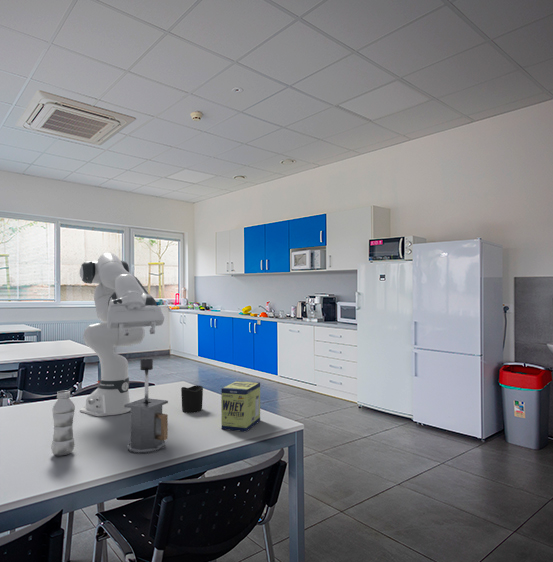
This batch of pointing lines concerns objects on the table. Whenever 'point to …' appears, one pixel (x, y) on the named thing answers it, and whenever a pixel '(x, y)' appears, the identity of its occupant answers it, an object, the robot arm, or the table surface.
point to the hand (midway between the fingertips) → (139, 333)
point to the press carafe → (147, 426)
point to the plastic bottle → (63, 424)
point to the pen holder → (192, 399)
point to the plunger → (146, 373)
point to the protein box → (240, 405)
